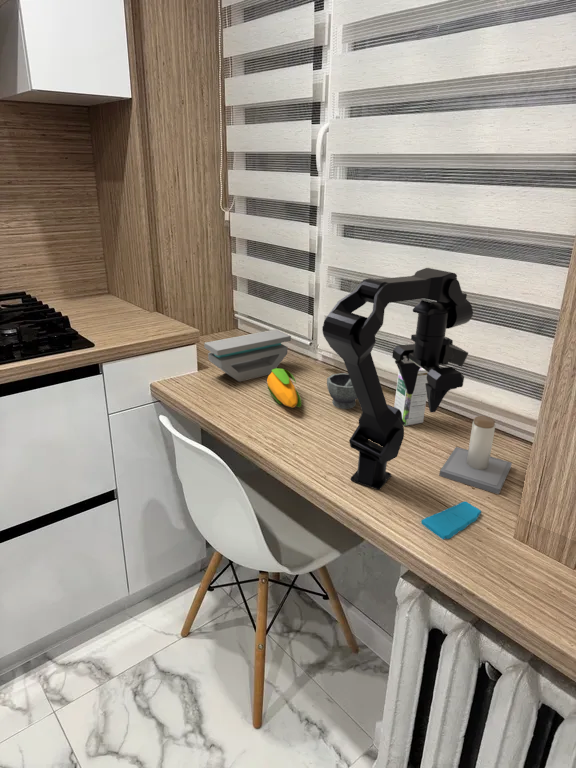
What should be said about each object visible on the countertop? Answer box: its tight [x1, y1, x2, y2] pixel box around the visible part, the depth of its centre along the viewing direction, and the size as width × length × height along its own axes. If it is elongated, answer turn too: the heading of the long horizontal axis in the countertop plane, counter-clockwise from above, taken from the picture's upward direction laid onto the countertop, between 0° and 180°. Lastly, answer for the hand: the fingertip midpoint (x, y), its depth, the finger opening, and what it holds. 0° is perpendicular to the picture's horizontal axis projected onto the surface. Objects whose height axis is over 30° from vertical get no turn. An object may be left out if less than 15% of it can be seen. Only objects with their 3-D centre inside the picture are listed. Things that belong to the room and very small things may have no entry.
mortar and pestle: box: [326, 372, 358, 410], centre depth 139 cm, size 11×9×12 cm
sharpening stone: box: [203, 329, 292, 382], centre depth 158 cm, size 25×8×11 cm, turn 125°
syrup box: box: [393, 368, 428, 427], centre depth 131 cm, size 6×6×14 cm
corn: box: [266, 367, 302, 409], centre depth 141 cm, size 7×8×20 cm
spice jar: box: [467, 415, 496, 470], centre depth 111 cm, size 4×4×10 cm
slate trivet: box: [439, 446, 512, 495], centre depth 112 cm, size 12×12×1 cm
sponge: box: [421, 500, 482, 540], centre depth 97 cm, size 2×12×6 cm
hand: (421, 402), depth 113 cm, fingers open, 9 cm apart
